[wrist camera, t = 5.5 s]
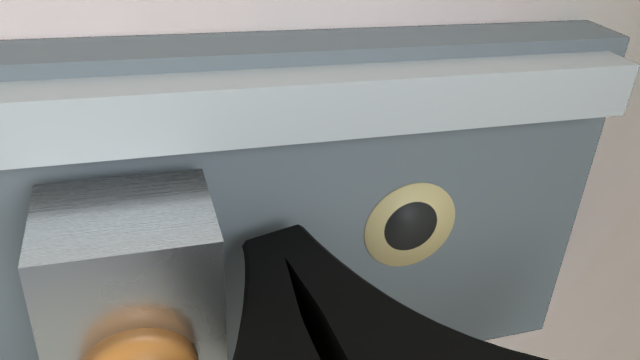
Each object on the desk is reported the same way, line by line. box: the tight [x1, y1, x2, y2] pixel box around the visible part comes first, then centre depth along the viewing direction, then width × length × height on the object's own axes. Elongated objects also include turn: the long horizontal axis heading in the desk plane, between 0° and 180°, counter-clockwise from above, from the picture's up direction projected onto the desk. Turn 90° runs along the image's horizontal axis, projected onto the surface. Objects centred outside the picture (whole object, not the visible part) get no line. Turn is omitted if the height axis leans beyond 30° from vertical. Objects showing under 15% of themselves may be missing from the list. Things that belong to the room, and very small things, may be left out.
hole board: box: [0, 20, 640, 360], centre depth 13 cm, size 22×9×5 cm, turn 88°
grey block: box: [18, 169, 227, 360], centre depth 11 cm, size 3×5×3 cm, turn 178°
